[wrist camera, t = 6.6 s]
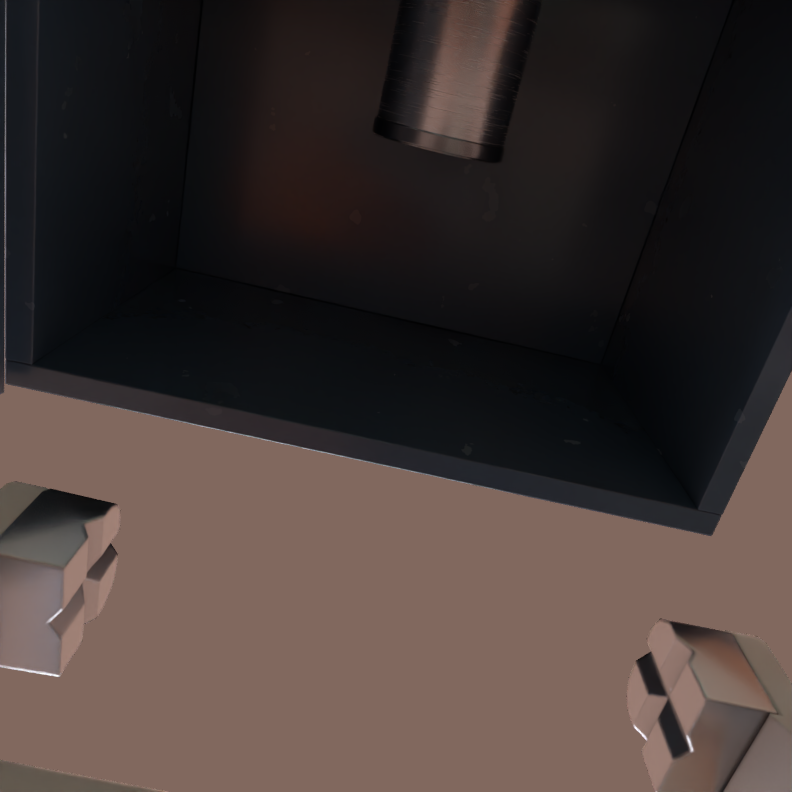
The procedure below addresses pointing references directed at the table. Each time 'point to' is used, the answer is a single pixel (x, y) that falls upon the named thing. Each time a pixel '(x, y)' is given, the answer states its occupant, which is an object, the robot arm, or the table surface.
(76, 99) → the cupboard
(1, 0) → the cupboard door
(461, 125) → the steel tumbler
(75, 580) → the robot arm
